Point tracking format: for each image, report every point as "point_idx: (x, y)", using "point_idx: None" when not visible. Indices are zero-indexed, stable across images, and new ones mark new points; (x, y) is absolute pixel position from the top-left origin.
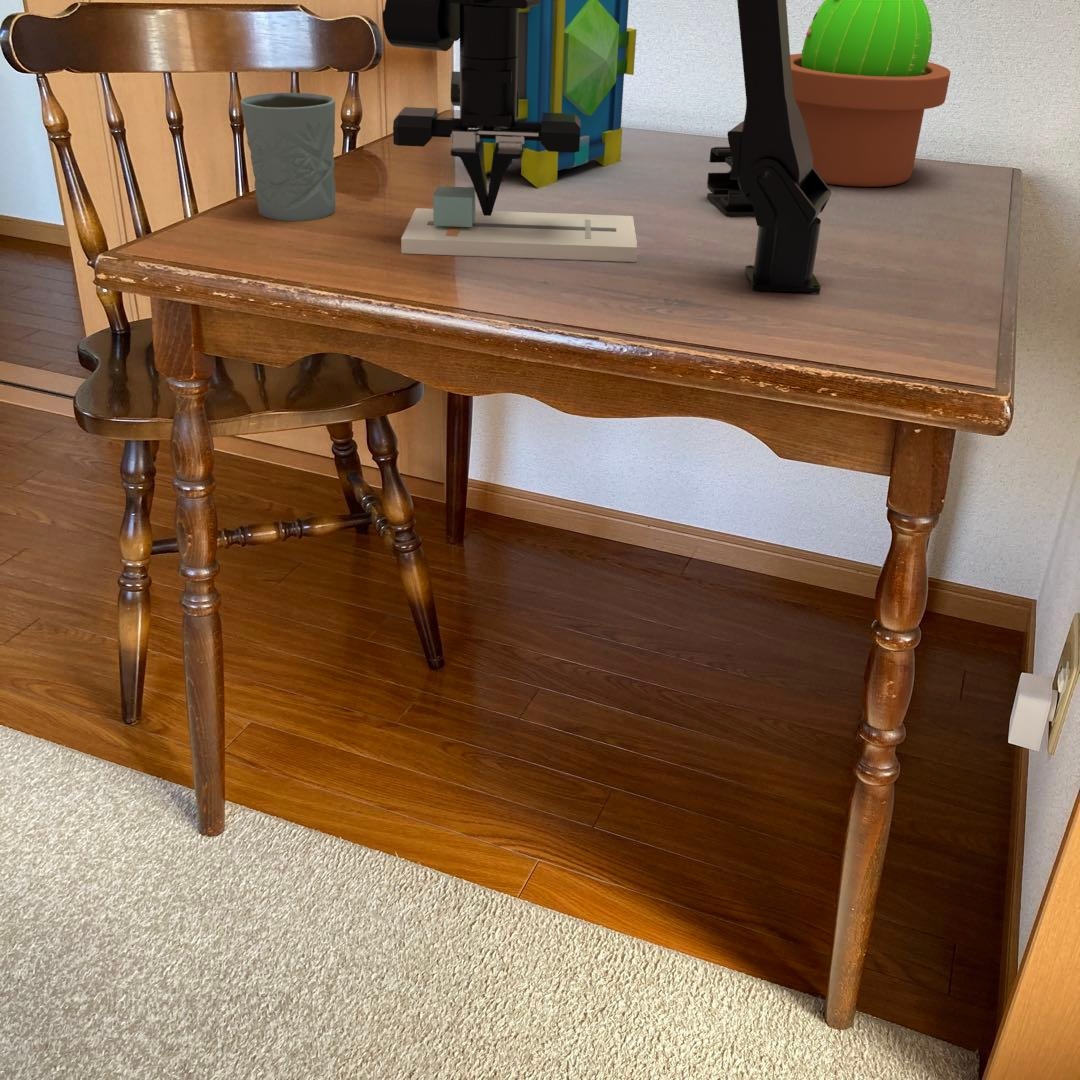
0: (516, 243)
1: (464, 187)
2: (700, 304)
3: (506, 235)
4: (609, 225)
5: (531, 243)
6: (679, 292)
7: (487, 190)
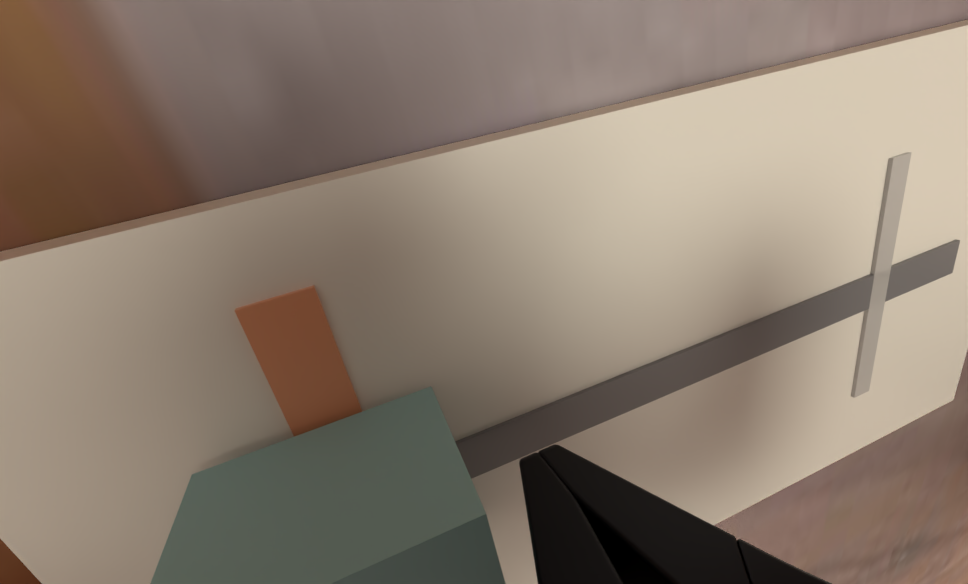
0: None
1: (396, 562)
2: (934, 537)
3: None
4: (949, 200)
5: None
6: (924, 506)
7: (597, 536)
